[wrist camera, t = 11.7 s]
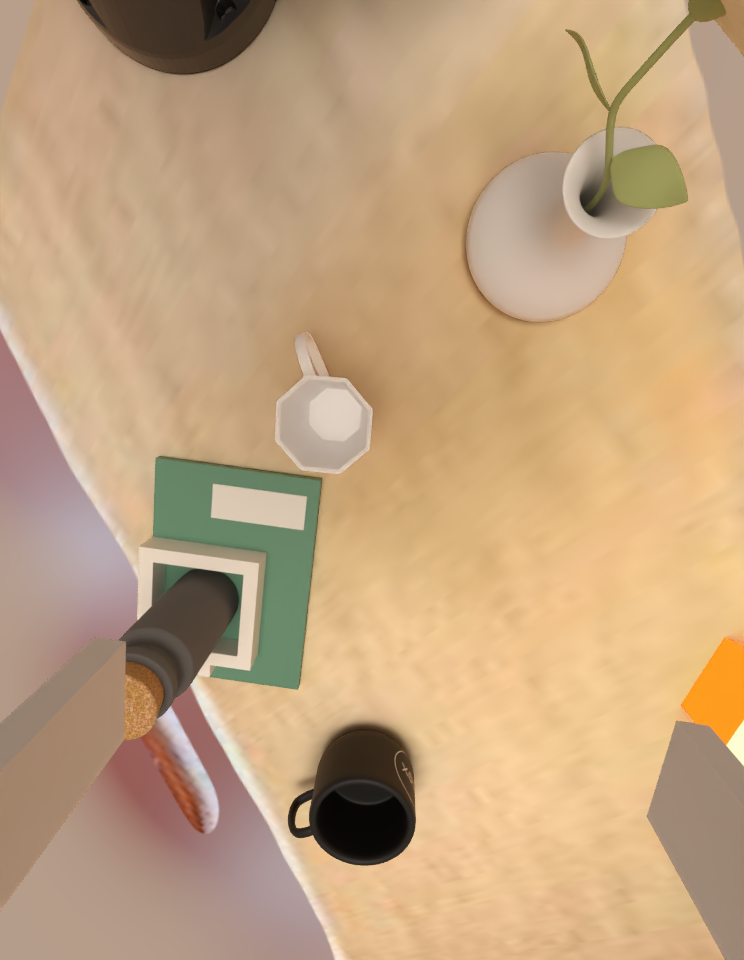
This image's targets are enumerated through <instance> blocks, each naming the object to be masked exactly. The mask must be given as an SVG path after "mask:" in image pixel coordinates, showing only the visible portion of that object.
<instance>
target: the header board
mask: <svg viewBox="0 0 744 960" xmlns="http://www.w3.org/2000/svg"><path fill="white" fill-rule="evenodd" d="M321 484H322V479H321V478H314V477H306V476H299V475H292V474H285V473H277V472H270V471H263V470H255V469H248V468H241V467H234V466H226V465H219V464H212V463H204V462H197V461H190V460H183V459H175V458H168V457H161V456H160V457H157V458H156V463H155V494H154V525H153V537H152V538H150V539H149V540H148V541H146V542H145V543H143V544H142V545H141V546H139V570H138V611H137V621H138V620H139V618H140V617H141V616H142V615H143V614H144V613H145V612H146V611H147V610H148V609H149V608H150V607H151V606H152V605H153V604H154V603H155V602H156V601H157V600H158V599H159V598H160V597H161V596H162V595H163V594H164V593H165V592H167V591H168V590H169V589H170V588H171V587H172V586H173V585H174V584H175V583H176V582H177V581H178V580H179V579H180V578H181V577H182V576H183V575H184V574H186V573H187V572H189V571H191V570H193V569H197V568H198V569H205V570H212V571H219V572H222V573H224V574H225V575H226V576H227V577H228V578H230V579H231V581H232V582H233V583H234V585H235V587H236V589H237V592H238V596H239V604H238V609H237V611H236V614H235V615H234V617H233V619H232V621H231V622H230V624H229V625H228V627H227V629H226V630H225V632H224V633H223V635H222V636H221V638H220V640H219V641H218V643H217V644H216V646H215V648H214V649H213V651H212V652H211V654H210V655H209V657H208V658H207V660H206V662H205V663H204V665H203V666H202V668H201V669H200V671H199V672H198V674H197V675H198V676H204V677H214V678H221V679H228V680H235V681H242V682H249V683H255V684H262V685H269V686H276V687H283V688H290V689H297V690H298V688H299V684H300V676H301V667H302V657H303V648H304V639H305V630H306V621H307V612H308V603H309V594H310V585H311V575H312V566H313V557H314V548H315V539H316V530H317V521H318V512H319V503H320V493H321Z"/></svg>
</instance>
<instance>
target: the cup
mask: <svg viewBox="0 0 744 960" xmlns="http://www.w3.org/2000/svg"><path fill="white" fill-rule="evenodd" d="M295 348H296V353H297V357H298V360H299V363H300V367H301V370H302V373H303V375H304V377H303V378H302V379H301V380H300V381H299V382H297V383H296V384H295V385H294V386H293V387H292V388H291V389H289V390H288V391H287V392H286V393H285V394H284V395H283V396H282V397H280V398H279V399H278V400H277V403H276V425H275V441H276V442H277V444H278V445H279V446H280V447H281V448H282V449H283V450H284V452H285V453H286V454H287V455H288V456H289V457H290V458H291V460H292V461H293V462H294V463H295V464H296V465H297V466H298V468H299V469H300V470H302V471H312V472H323V473H333V474H341V473H342V472H343V471H344V470H345V469H347V468H348V467H349V466H350V465H351V464H353V463H354V462H355V461H356V460H358V459H359V458H360V457H361V456H362V455H364V454H365V453H366V452H367V451H369V450H370V440H371V429H372V417H373V409H372V408H371V407H370V405H369V404H368V403H367V402H366V401H365V399H364V398H363V397H362V396H361V395H360V393H359V392H358V391H357V390H356V389H355V387H354V386H353V385H352V384H351V383H350V381H349V380H348V379H347V378H339V377H329V374H328V371H327V369H326V366H325V364H324V362H323V359H322V357H321V355H320V352H319V350H318V348H317V346H316V344H315V342H314V340H313V337H312V336H311V334H310V333H309V332H305V333H302V334H299V335H296V337H295ZM309 355H310V356H309ZM310 357H311V359H310ZM311 360H312V361H311ZM312 362H313V364H314V366H315V368H316V371H317V373H318V375H319V376H317V375H316V372H315V370H314V367H313V364H312Z"/></svg>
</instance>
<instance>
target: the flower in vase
mask: <svg viewBox="0 0 744 960" xmlns="http://www.w3.org/2000/svg"><path fill="white" fill-rule="evenodd" d="M688 10H689V14H688V16H687V17H686V18H685V19H684V20H683V21H682V22H681V23H680V24H679V25H678V26H677V27H676V29H675V30H674V31H673V32H672V33H671V34H670V35H669V36H668V37H667V38H666V40H665V41H664V42H663V43H662V44H661V45H660V46H659V47H658V48H657V50H656V51H655V52H654V53H653V54H652V55H651V56H650V57H649V59H648V60H647V61H646V62H645V63H644V64H643V65H642V66H641V68H640V69H639V70H638V71H637V72H636V73H635V74H634V75H633V77H632V78H631V79H630V80H629V81H628V82H627V83H626V84H625V86H624V87H623V88H622V89H621V91H620V92H619V93H618V94H617V96H616V97H615V99H614V101H613V103H612V105H611V107H609V104H608V102H607V100H606V98H605V96H604V94H603V92H602V89H601V87H600V85H599V82H598V79H597V76H596V73H595V70H594V67H593V65H592V61H591V58H590V55H589V52H588V49H587V46H586V44H585V42H584V40H583V39H582V37H581V36H580V35H579V34H578V33H576V32H574V31H572V30H566V31H567V32H568V33H569V34H570V35H571V36H572V37H573V38H574V39H575V40H576V42H577V43H578V45H579V46H580V48H581V51H582V54H583V57H584V60H585V64H586V69H587V73H588V77H589V80H590V83H591V86H592V88H593V90H594V92H595V94H596V95H597V97H598V98H599V100H600V101H601V102H602V104H603V105H604V106H605V107H606V108H607V110H608V111H609V113H608V119H607V126H606V129H605V130H602V131H599V132H597V133H595V134H594V135H592V136H590V137H589V138H588V139H586V140H585V141H584V142H583V143H582V144H581V145H580V146H579V147H578V148H577V149H576V151H575V152H574V154H571V153H564V152H543V153H537V154H533V155H530V156H527V157H524V158H521V159H519V160H517V161H515V162H513V163H512V164H510V165H509V166H507V167H506V168H504V169H503V170H502V171H500V172H499V173H498V174H497V175H496V176H495V177H494V178H493V179H492V180H491V181H490V182H489V183H488V184H487V186H486V187H485V188H484V190H483V191H482V193H481V194H480V196H479V198H478V200H477V202H476V203H475V205H474V208H473V211H472V213H471V216H470V220H469V223H468V228H467V235H466V252H467V260H468V265H469V269H470V272H471V274H472V277H473V279H474V281H475V283H476V285H477V287H478V289H479V290H480V291H481V293H482V294H483V296H484V297H485V298H486V299H487V300H488V301H489V302H490V303H491V304H492V305H493V306H495V307H496V308H497V309H498V310H500V311H502V312H503V313H505V314H507V315H509V316H511V317H514V318H516V319H520V320H524V321H530V322H549V321H556V320H559V319H563V318H566V317H569V316H571V315H573V314H575V313H577V312H579V311H581V310H582V309H584V308H586V307H587V306H588V305H590V304H591V303H592V302H593V301H595V300H596V299H597V298H598V297H599V296H600V295H601V294H602V293H603V291H604V290H605V289H606V288H607V286H608V285H609V284H610V282H611V280H612V279H613V277H614V276H615V274H616V272H617V270H618V267H619V265H620V263H621V260H622V257H623V254H624V249H625V244H626V238H627V235H629V234H631V233H633V232H635V231H636V230H638V229H639V228H641V227H642V226H643V225H645V224H646V223H647V222H648V221H649V220H650V218H651V217H652V216H653V215H654V213H655V212H656V210H657V209H658V208H665V207H671V206H675V205H679V204H682V203H685V202H687V201H688V195H687V189H686V184H685V181H684V177H683V174H682V172H681V169H680V167H679V164H678V162H677V160H676V159H675V157H674V155H673V154H672V153H671V152H670V151H669V149H668V148H666V147H664V146H661V145H656V144H655V142H654V141H653V140H652V139H651V138H650V137H648V136H647V135H646V134H644V133H643V132H641V131H638V130H636V129H633V128H629V127H614V125H615V119H616V114H617V111H618V109H619V106H620V104H621V103H622V101H623V99H624V98H625V97H626V95H627V94H628V93H629V92H630V90H631V89H632V88H633V87H634V86H635V85H636V84H637V83H638V82H639V80H640V79H641V78H642V77H643V76H644V75H645V74H646V73H647V72H648V71H649V69H650V68H651V67H652V66H653V65H654V64H655V63H656V62H657V61H658V60H659V58H660V57H661V56H662V55H663V54H664V53H665V52H666V51H667V50H668V49H669V48H670V46H671V45H672V44H673V43H674V42H675V41H676V40H677V39H678V38H679V37H680V36H681V35H682V34H683V32H684V31H685V30H686V29H687V28H688V27H689V26H690V25H691V24H692V23H693V22H694V21H699V22H707V21H711V20H715V21H716V22H717V23H718V25H719V26H720V27H721V28H722V30H723V31H724V32H725V34H726V35H727V36H728V37H729V38H730V40H731V41H732V42H733V43H734V44H735V45H736V47H737V48H738V50H739V51H740V52H741V54H742V55H743V56H744V0H689V2H688Z"/></svg>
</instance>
